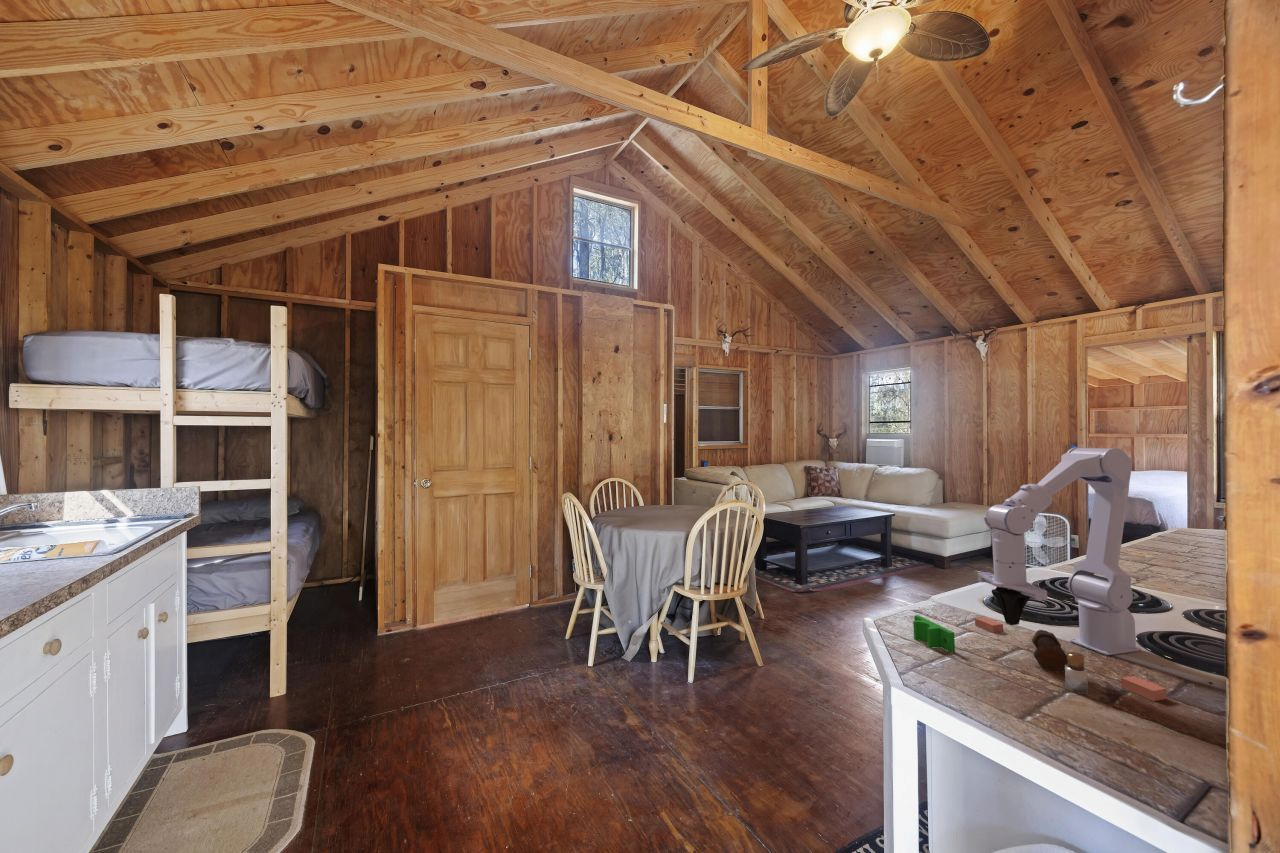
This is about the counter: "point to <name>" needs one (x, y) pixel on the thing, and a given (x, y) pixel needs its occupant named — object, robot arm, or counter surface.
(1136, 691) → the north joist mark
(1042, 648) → the bolt
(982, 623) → the block
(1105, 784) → the counter surface
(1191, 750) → the counter surface
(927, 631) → the pipe clamp
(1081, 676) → the two-tone metal capsule
